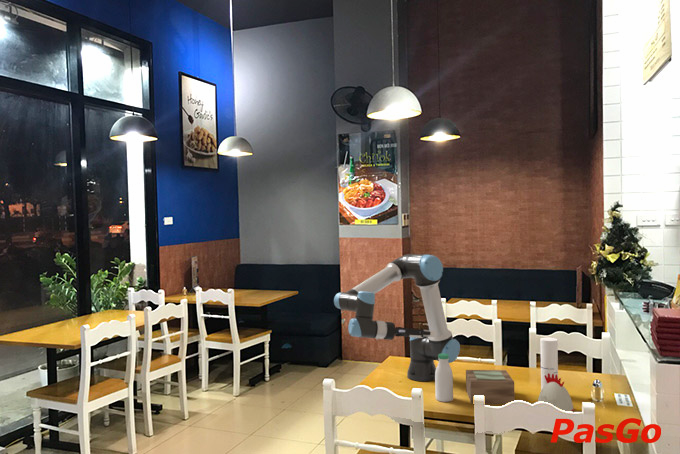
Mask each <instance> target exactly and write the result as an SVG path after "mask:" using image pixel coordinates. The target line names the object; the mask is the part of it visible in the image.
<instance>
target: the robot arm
mask: <svg viewBox="0 0 680 454" xmlns="http://www.w3.org/2000/svg"><path fill="white" fill-rule="evenodd" d="M443 272H444V266H443V263H442V261H441V260H440V258H438V256H435V255H432V254H428V253H427V254H421V253H419V254H417V253H408V254H404V255H402V256H399V257H398V258H396V259H394V260H392V261H391V262H389V263H387V265H386V267H385V268H383V269H382V270H380V271H378V272H377V273H375V274H374V275H372V276H369V277H368V278H367V279H365V280H363V282H361V283H359V284H357V285H355V286H354V287H352V288H351V289H349V290H348V291H346V292H344V291H343V292H338V293H336V294H335V296H334V298H333V304H334V306H335V308H337V309H339V310H342V311H348V312H349V311H350V312H352V313H353V312H354V313H355V317H354V318H351V319H350V320H349V322H348V325H347V329H348V333H349V336H350V337H355V338H366V339H376V341H378V340H386V341H387V340H389V341H392V340H394V338H395V337H403V338H405V337H406V338H408V337H409V352H410V355H409V356H410V362H409V366H408V368H407V372H406V374H407V378H408V379H409V380H412V381H415V382H431V381H435V371H436V368H437V366H436V364H435V361H438V362H439V359H438V354H441V353H445V354H448V355H449V360H448V362H449V364H451V363H453V362H455V361H456V360H457V358H458V356H459V354H460V350H461V345H460V342H459V341H458V340H457V339H456V338H453V333H452V331H451V330H449V329H448V324H447V319H446V314H445V310H444V307H443V303H442V302H443V301H442V298H441V292H440V287H439V283H440V281H441V278H442V277H443ZM403 279H414V282H415V285H416V287H418V288H419V290H420V295H421V299H422V304H423V306H424V307H423V308H424V312H425V317H426V321H427V324H428V329H424V328H422V329H420V328H407V327H402V326H396V325H395V323H394V321H393V322H392V321H383V320H374V318H373V317H374V311H375V303H376V294H377V293H378V292H380V291H382V290H383V289H385V288H386V287H388V286H389V285H390V284H392V283H394V282H400V281H401V280H403Z"/></svg>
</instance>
